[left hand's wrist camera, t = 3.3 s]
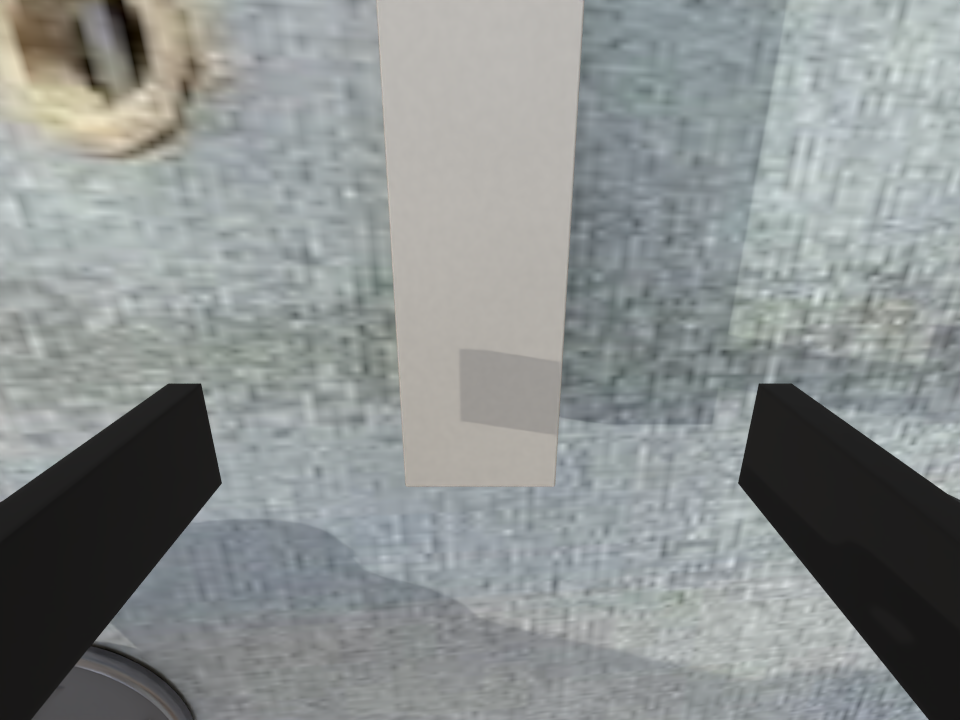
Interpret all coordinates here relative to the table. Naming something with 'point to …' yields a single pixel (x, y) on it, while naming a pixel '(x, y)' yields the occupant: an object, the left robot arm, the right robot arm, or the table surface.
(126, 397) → the table surface
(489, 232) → the post
